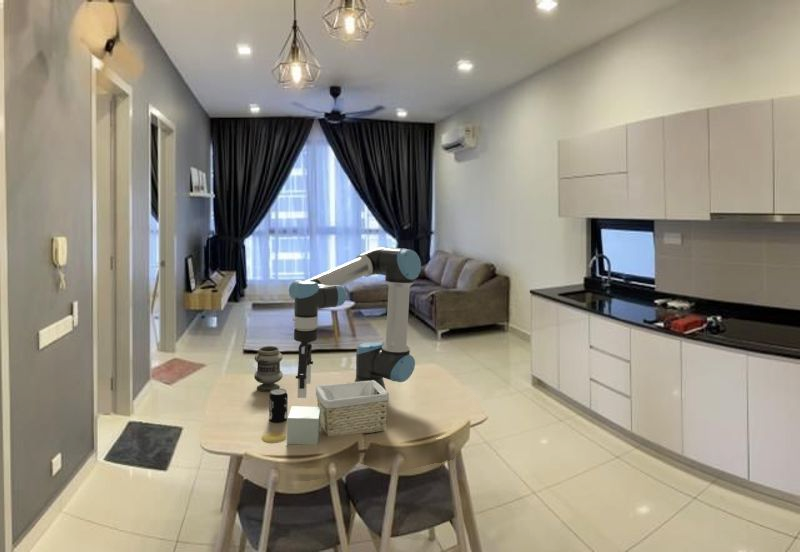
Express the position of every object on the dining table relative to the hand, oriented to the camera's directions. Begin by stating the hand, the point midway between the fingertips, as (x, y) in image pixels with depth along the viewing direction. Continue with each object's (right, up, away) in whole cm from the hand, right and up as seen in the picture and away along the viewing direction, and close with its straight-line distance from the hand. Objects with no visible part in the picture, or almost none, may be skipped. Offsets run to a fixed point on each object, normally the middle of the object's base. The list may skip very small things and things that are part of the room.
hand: (304, 390), depth 165 cm
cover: (-1, -17, +2) cm, 17 cm away
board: (-6, -18, +2) cm, 19 cm away
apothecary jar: (-26, -11, +51) cm, 58 cm away
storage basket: (+14, -17, +15) cm, 27 cm away
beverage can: (-13, -16, +16) cm, 26 cm away
